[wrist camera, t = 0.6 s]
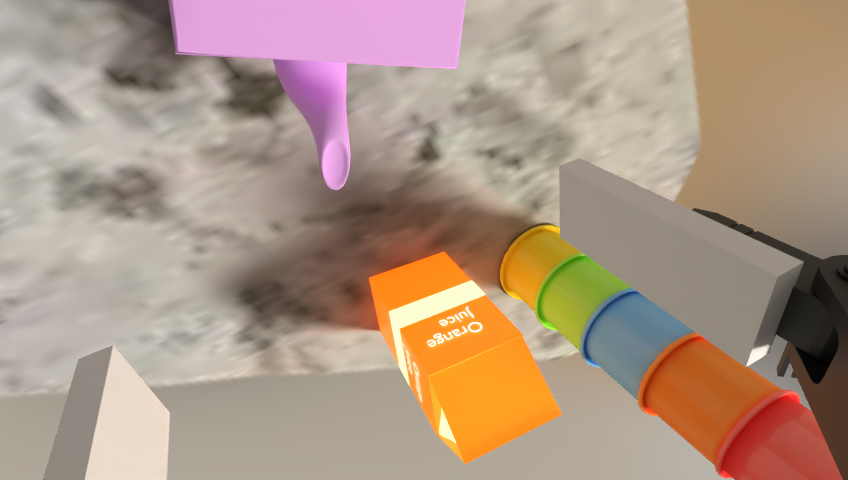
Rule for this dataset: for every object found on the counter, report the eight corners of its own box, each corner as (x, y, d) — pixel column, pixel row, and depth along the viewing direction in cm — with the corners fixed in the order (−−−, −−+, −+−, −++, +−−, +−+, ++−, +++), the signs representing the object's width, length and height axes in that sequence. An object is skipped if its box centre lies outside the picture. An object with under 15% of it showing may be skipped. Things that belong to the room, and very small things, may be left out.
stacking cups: (487, 297, 55) (784, 613, 27) (513, 221, 51) (892, 501, 23) (550, 295, 60) (856, 560, 32) (579, 225, 56) (956, 460, 28)
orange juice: (367, 276, 46) (460, 431, 30) (444, 250, 48) (567, 379, 33) (379, 332, 50) (467, 494, 34) (450, 305, 53) (561, 443, 37)
